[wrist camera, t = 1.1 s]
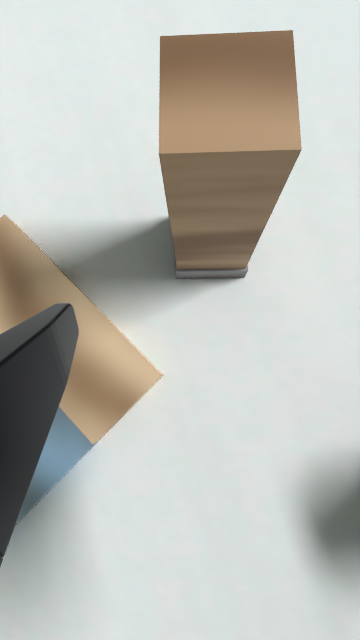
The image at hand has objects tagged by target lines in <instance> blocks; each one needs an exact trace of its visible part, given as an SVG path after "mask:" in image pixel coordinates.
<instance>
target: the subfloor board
mask: <svg viewBox="0 0 360 640" xmlns="http://www.w3.org/2000/svg"><path fill="white" fill-rule="evenodd" d="M56 303H70V304H71V305H72V306H73V308H74V312H75V316H76V320H77V324H78V328H79V336H78V340H77V345H76V349H75V353H74V358H73V362H72V366H71V371H70V375H69V379H68V382H67V385H66V388H65V391H64V393H63V396H62V399H61V402H60V404H59V407H58V410H57V413H56V415H55V418H54V421H53V423H52V426H51V429H50V432H49V434H48V437H47V440H46V443H45V445H44V448H43V451H42V454H41V456H40V459H39V462H38V464H37V467H36V470H35V473H34V475H33V478H32V481H31V484H30V486H29V489H28V492H27V494H26V497H25V500H24V503H23V505H22V508H21V511H20V514H19V516H18V519H17V522H16V524H17V523H18V522H19V521H20V520H21V519H22V518H23V517H24V516H25V515H26V514H27V513H28V512H29V511H30V510H31V509H32V508H33V507H34V506H35V505H36V504H37V503H38V502H39V501H40V500H41V499H42V498H43V497H44V496H45V495H46V494H47V493H48V492H49V491H50V490H51V489H52V488H53V487H54V485H55V484H56V483H57V482H58V481H59V480H60V479H61V478H62V477H63V476H64V475H65V474H66V473H67V472H68V471H69V470H70V469H71V468H72V467H73V466H74V465H75V464H76V463H77V462H78V461H79V460H80V459H81V458H82V457H83V456H84V455H85V454H86V453H87V452H88V451H89V450H90V449H91V448H92V447H93V446H94V445H95V444H96V443H97V442H98V441H99V440H100V439H101V438H102V437H103V436H104V435H105V434H106V433H107V432H108V431H109V430H110V429H111V428H112V427H113V426H114V425H115V424H116V423H117V422H118V421H119V420H120V419H121V418H122V417H123V416H124V415H125V414H126V413H127V412H128V411H129V410H130V409H131V408H132V407H133V406H134V404H135V403H136V402H137V401H138V400H139V399H140V398H141V397H142V396H143V395H144V394H145V393H146V392H147V391H148V390H149V389H150V388H151V387H152V386H153V385H154V384H155V383H156V382H157V381H158V380H159V379H160V378H161V377H162V376H163V375H162V374H161V372H160V371H159V370H158V369H157V368H156V367H155V366H154V365H153V364H152V363H151V362H150V361H149V360H148V359H147V358H146V357H145V356H144V355H143V354H142V353H141V352H140V351H139V350H138V349H137V348H136V347H135V346H134V345H133V344H132V343H131V342H130V341H129V340H128V339H127V338H126V337H125V336H124V335H123V334H122V333H121V332H120V331H119V330H118V329H117V328H116V327H115V325H114V324H113V323H112V322H111V321H110V320H109V319H108V318H107V317H106V316H105V315H104V314H103V313H102V312H101V311H100V310H99V309H98V308H97V307H96V306H95V305H94V304H93V303H92V302H91V301H90V300H89V299H88V298H87V297H86V296H85V295H84V294H83V293H82V292H81V291H80V290H79V289H78V288H77V287H76V286H75V285H74V284H73V283H72V282H71V281H70V280H69V278H68V277H67V276H66V275H65V274H64V273H63V272H62V271H61V270H60V269H59V268H58V267H57V266H56V265H55V264H54V263H53V262H52V261H51V260H50V259H49V258H48V257H47V256H46V255H45V254H44V253H43V252H42V251H41V250H40V249H39V248H38V247H37V246H36V245H35V244H34V243H33V242H32V241H31V240H30V239H29V238H28V237H27V236H26V235H25V234H24V233H23V231H22V230H21V229H20V228H19V227H18V226H17V225H16V224H15V223H14V222H13V221H11V220H10V219H9V218H8V217H7V216H6V215H3V216H2V217H1V218H0V334H1V333H3V332H5V331H7V330H9V329H10V328H12V327H14V326H16V325H18V324H19V323H21V322H23V321H25V320H27V319H28V318H30V317H32V316H34V315H36V314H37V313H39V312H41V311H43V310H45V309H46V308H48V307H50V306H52V305H54V304H56Z"/></svg>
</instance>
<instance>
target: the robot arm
mask: <svg viewBox="0 0 360 640" xmlns="http://www.w3.org/2000/svg"><path fill="white" fill-rule="evenodd" d="M78 336H79V328H78V324H77V320H76V316H75V312H74V308H73V306H72V305H71V304H70V303H56V304H54V305H52V306H50V307H48V308H46V309H45V310H43V311H41V312H39V313H37V314H36V315H34V316H32V317H30V318H28V319H27V320H25V321H23V322H21V323H19V324H18V325H16V326H14V327H12V328H10V329H9V330H7V331H5V332H3V333H1V334H0V566H1V564H2V561H3V558H2V557H3V556H4V555H5V552H6V549H7V546H8V544H9V541H10V538H11V535H12V533H13V530H14V527H15V525H16V522H17V519H18V516H19V514H20V511H21V508H22V505H23V503H24V500H25V497H26V494H27V492H28V489H29V486H30V484H31V481H32V478H33V475H34V473H35V470H36V467H37V464H38V462H39V459H40V456H41V454H42V451H43V448H44V445H45V443H46V440H47V437H48V434H49V432H50V429H51V426H52V423H53V421H54V418H55V415H56V413H57V410H58V407H59V404H60V402H61V399H62V396H63V393H64V391H65V388H66V385H67V382H68V379H69V375H70V371H71V366H72V362H73V358H74V353H75V349H76V345H77V340H78Z"/></svg>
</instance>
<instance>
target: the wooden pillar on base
mask: <svg viewBox="0 0 360 640" xmlns="http://www.w3.org/2000/svg"><path fill="white" fill-rule="evenodd" d="M300 151H301V137H300V123H299V109H298V96H297V82H296V68H295V55H294V41H293V30H289V31H267V32H245V33H223V34H200V35H178V36H160V106H159V157H160V163H161V170H162V176H163V182H164V189H165V195H166V202H167V208H168V214H169V221H170V227H171V233H172V240H173V246H174V253H175V275H176V278H242V277H245V275H246V273H247V271H248V266H247V264H248V262H249V260H250V258H251V255H252V253H253V251H254V249H255V247H256V245H257V243H258V241H259V238H260V236H261V234H262V232H263V230H264V228H265V226H266V224H267V221H268V219H269V217H270V215H271V213H272V211H273V209H274V207H275V204H276V202H277V200H278V198H279V196H280V194H281V192H282V190H283V188H284V185H285V183H286V181H287V179H288V177H289V175H290V173H291V171H292V168H293V166H294V164H295V162H296V160H297V158H298V156H299V154H300Z"/></svg>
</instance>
